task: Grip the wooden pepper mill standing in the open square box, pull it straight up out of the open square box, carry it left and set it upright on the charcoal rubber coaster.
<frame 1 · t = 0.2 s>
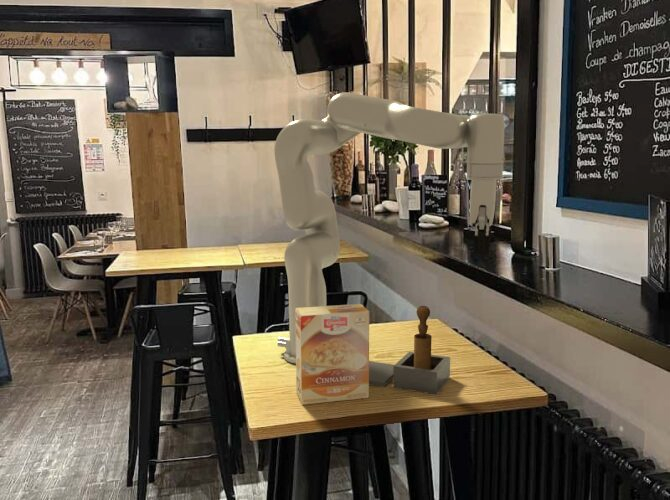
hand: (482, 250, 138), 31 cm above the table, fingers open, 9 cm apart
coaster: (373, 374, 148), on the table
open square box: (422, 382, 143), on the table
coffeecake box: (332, 396, 136), on the table
wooden pepper mill: (422, 383, 143), resting in open square box
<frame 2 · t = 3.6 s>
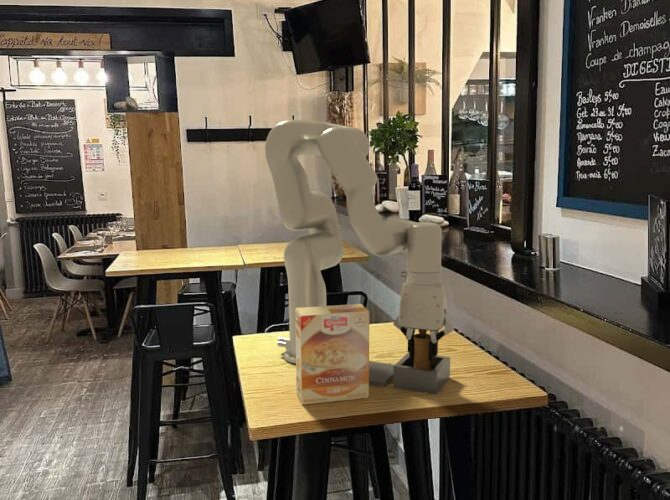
hand: (422, 356, 142), 6 cm above the table, fingers closed on wooden pepper mill, 3 cm apart
wooden pepper mill: (422, 383, 143), resting in open square box, touching gripper
everything else where it was.
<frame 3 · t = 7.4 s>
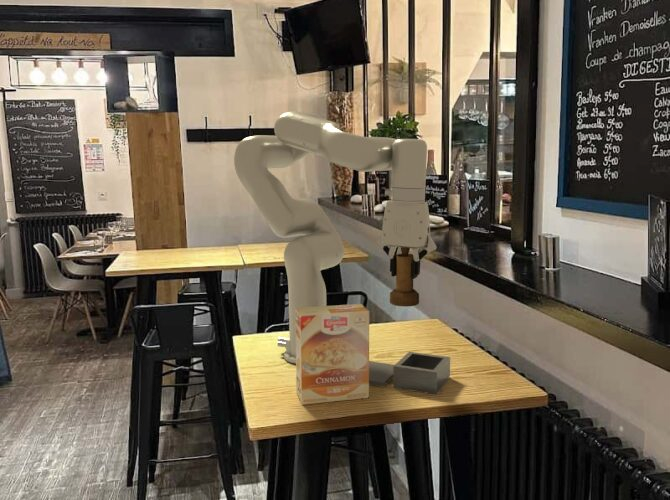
hand: (404, 275, 141), 25 cm above the table, fingers closed on wooden pepper mill, 3 cm apart
wooden pepper mill: (404, 303, 143), point 18 cm above the table, touching gripper
everything else where it was.
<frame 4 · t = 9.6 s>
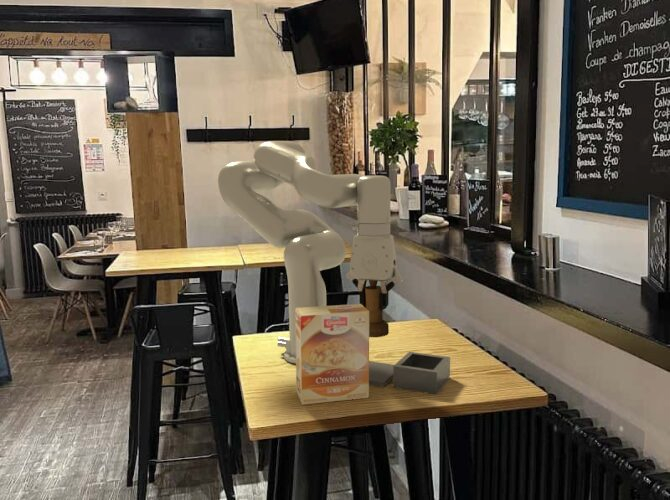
hand: (373, 307, 146), 17 cm above the table, fingers closed on wooden pepper mill, 3 cm apart
wooden pepper mill: (374, 334, 147), point 10 cm above the table, touching gripper
everything else where it was.
when the fingers open (9 cm above the table, at t = 11.4 s): wooden pepper mill drops 1 cm, resting on coaster.
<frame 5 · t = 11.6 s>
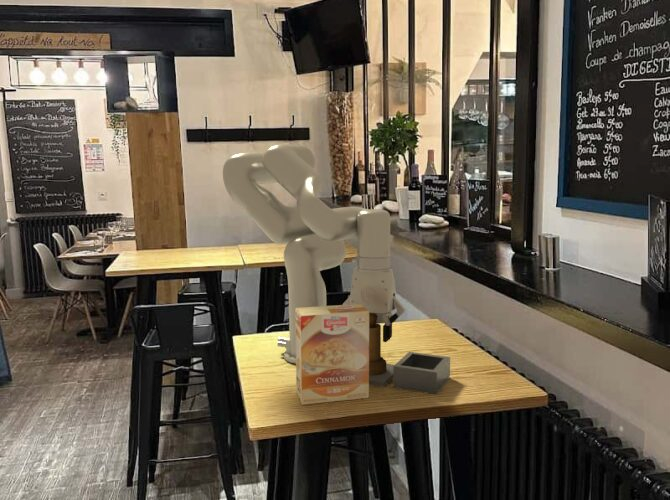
hand: (373, 338, 147), 9 cm above the table, fingers open, 6 cm apart
wooden pepper mill: (372, 371, 148), point 1 cm above the table, touching coaster
everything else where it was.
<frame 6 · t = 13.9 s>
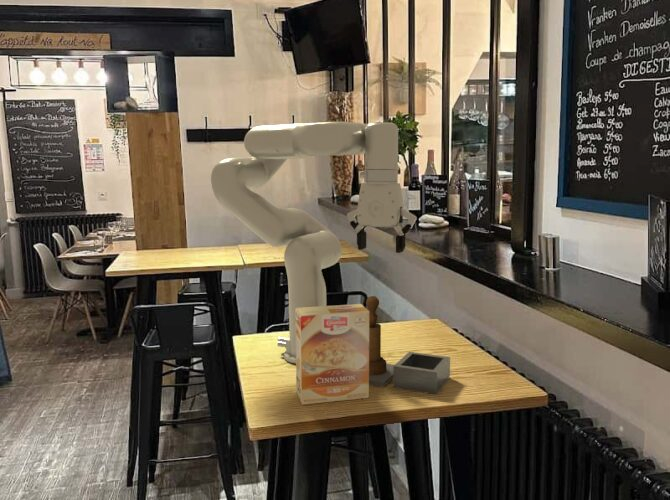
hand: (380, 250, 147), 29 cm above the table, fingers open, 9 cm apart
nothing on the table moved.
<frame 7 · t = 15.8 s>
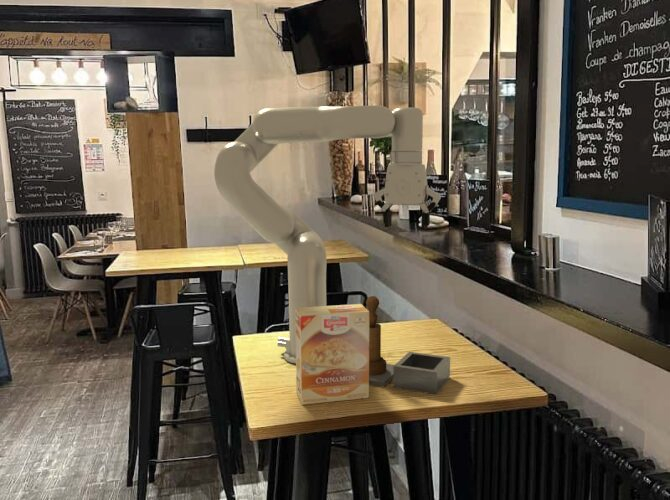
hand: (406, 227, 157), 33 cm above the table, fingers open, 9 cm apart
nothing on the table moved.
at the end: wooden pepper mill 0.3 cm off-centre on the coaster, point 0.8 cm above the coaster's base; wooden pepper mill tilted 0°; the gripper is holding nothing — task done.
